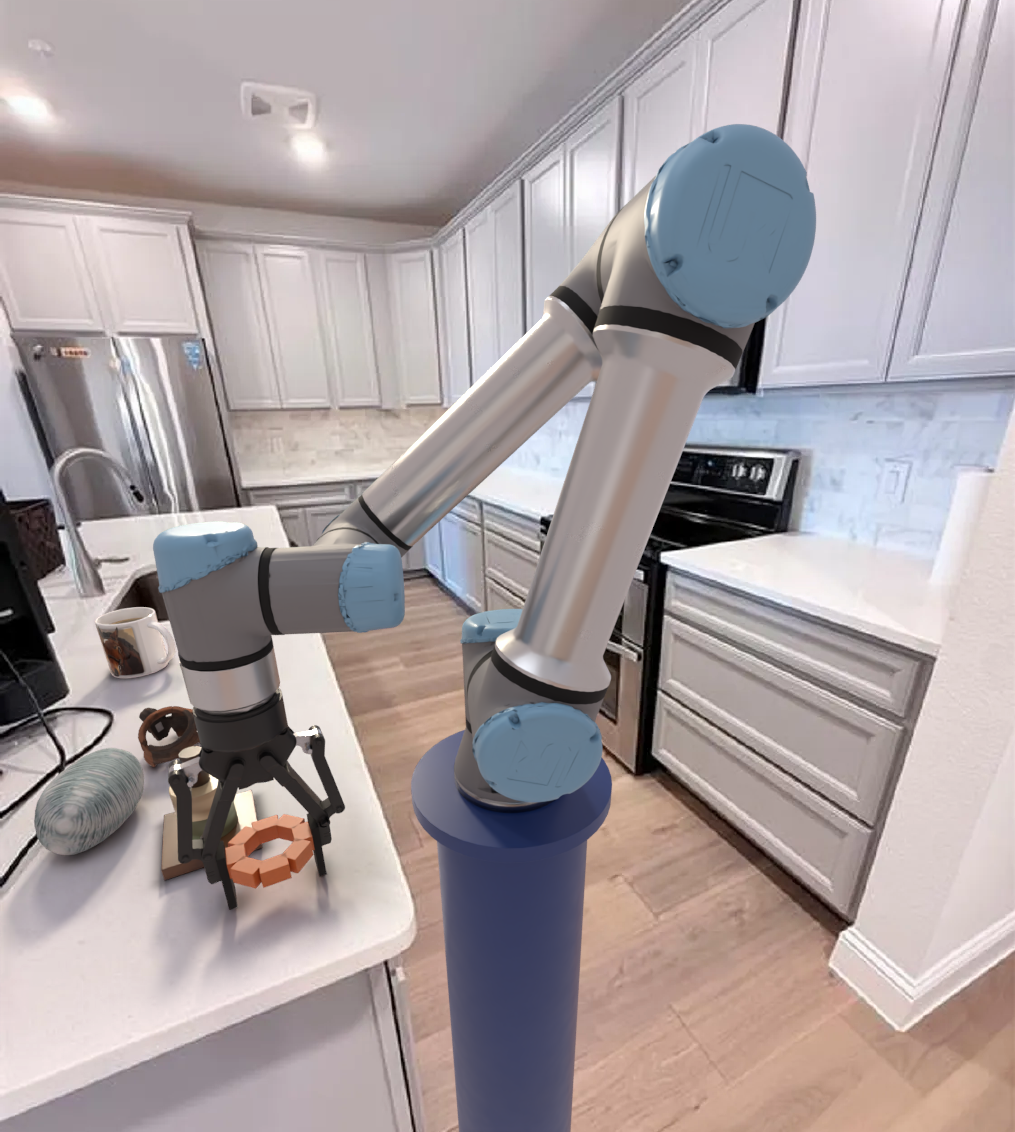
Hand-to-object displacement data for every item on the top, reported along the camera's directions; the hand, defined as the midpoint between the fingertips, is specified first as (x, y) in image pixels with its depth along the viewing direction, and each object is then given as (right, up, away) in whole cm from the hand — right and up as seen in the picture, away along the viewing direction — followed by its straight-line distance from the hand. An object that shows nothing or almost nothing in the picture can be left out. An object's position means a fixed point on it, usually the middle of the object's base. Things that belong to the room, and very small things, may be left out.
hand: (278, 882), depth 59 cm
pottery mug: (-25, +9, +24) cm, 36 cm away
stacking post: (-11, +2, +7) cm, 13 cm away
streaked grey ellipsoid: (-26, +3, +10) cm, 28 cm away
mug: (-47, +20, +50) cm, 72 cm away
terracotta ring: (0, +3, -1) cm, 4 cm away
